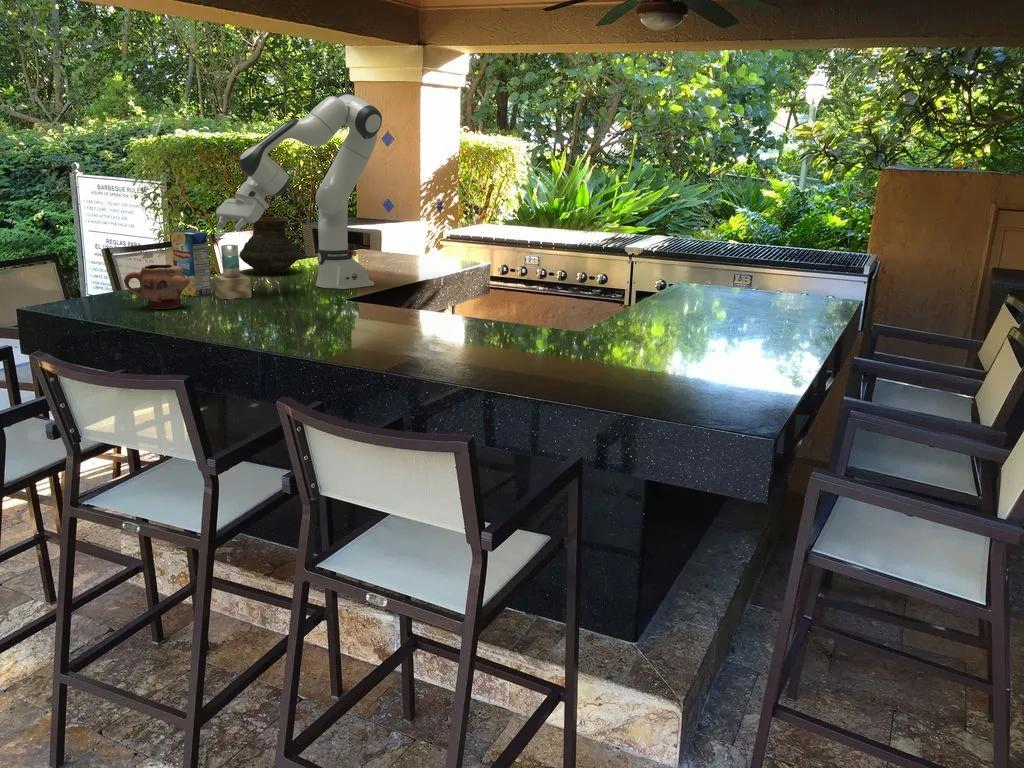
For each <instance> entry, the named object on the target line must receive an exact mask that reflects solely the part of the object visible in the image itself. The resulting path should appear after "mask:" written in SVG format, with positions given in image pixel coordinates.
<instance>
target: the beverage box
mask: <svg viewBox="0 0 1024 768" xmlns="http://www.w3.org/2000/svg"><path fill="white" fill-rule="evenodd" d="M170 235H171V237H170V238H171V239H170V240H171V250H172V262H173V263H172V264H173V265H174V266H178V267H181V268H182V269H183V271H184V274H185V275H186V276H187V277H188V278H189V279H190V284H189V285H188V286H187V287H186V288H184V289H183V291H182V293H181V295H183V294H184V296H189V295H191V296H190V297H194V296H198V297H202V295H203V296H208V294H209V295H212V282H211V280H212V279H211V265H210V255H209V254H210V253H209V251H210V250H209V235H208V232H204V231H197V230H190V229H189V230H188V229H186V230H173V231H170Z"/></svg>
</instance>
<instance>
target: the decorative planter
mask: <svg viewBox="0 0 1024 768" xmlns="http://www.w3.org/2000/svg"><path fill="white" fill-rule="evenodd" d="M132 279H136V280H138V282H139V289H133V288H132V287H131V286H130V284H129V283H130V281H131V280H132ZM123 283H124V285H125V287H126V288H127V289H128V290H130V291H131V292H132V293H134V294H135V295H138V296H140V297H141V298H143V299H144V298H147V299H148V302H147V303H148V306H149V308H150V309H154V310H155V309H156V310H161V309H175V308H179V307H181V305H182V303H181V295H182V294H181V293H182V291H183V289H184V288H186V287H187V286H188V285H189V284H190V279H189V278H188V277H187V276H186V275H185V274H184V271H183V269H182V268H181V267H178V266H174V265H172V264H149V265H145V266H143V267H142V268H141V270H140V271H133V272H129V273H127V274H126V275H125V277H124V278H123Z"/></svg>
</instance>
